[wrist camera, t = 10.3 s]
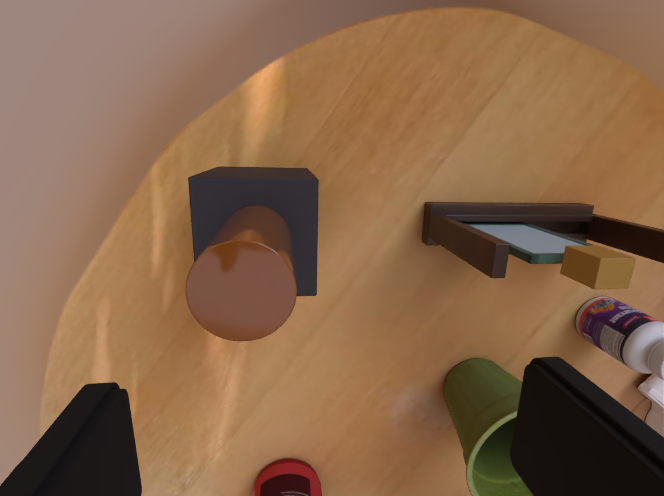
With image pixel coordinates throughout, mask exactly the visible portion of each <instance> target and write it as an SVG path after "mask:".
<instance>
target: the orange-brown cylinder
mask: <svg viewBox="0 0 664 496" xmlns="http://www.w3.org/2000/svg"><path fill="white" fill-rule="evenodd" d="M296 295H297V287H296V276H295V266H294V255H293V245H292V235H291V231H290V228H289V226H288V224H287V222H286V221H285V220H284V218H283V217H282V216H281V215H280V214H278V213H277V212H276V211H274V210H272V209H270V208H267V207H264V206H256V205H255V206H246V207H243V208H240V209H238V210H236V211H235V212H233V213H232V214H231V215H230V216H229V217H228V218H227V219H226V221H225V222H224V223H223V225H222V226H221V227H220V229H219V230H218V231H217V233H216V234H215V235H214V237H213V238H212V239H211V241H210V242H209V243H208V245H207V246H206V247H205V249H204V250H203V251H202V253H201V254H200V256H199V257H198V258H197V260H196V261H195V262H194V264H193V265H192V267H191V269H190V271H189V273H188V277H187V280H186V299H187V303H188V306H189V309H190V311H191V313H192V314H193V316H194V318H195V319H196V320H197V321H198V323H199V324H200V325H201V326H202V327H204V328H205V329H206V330H207V331H209V332H210V333H212V334H214V335H216V336H218V337H221V338H223V339H227V340H232V341H252V340H256V339H260V338H263V337H265V336H267V335H269V334H271V333H273V332H274V331H276V330H277V329H278V328H279V327H281V326H282V325H283V324H284V323H285V322H286V320H287V319H288V317H289V316H290V314H291V312H292V310H293V308H294V305H295V301H296Z"/></svg>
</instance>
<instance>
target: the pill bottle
mask: <svg viewBox="0 0 664 496" xmlns="http://www.w3.org/2000/svg"><path fill="white" fill-rule="evenodd" d="M576 328H577V331H578V333H579V334H580V335H581V336H582V337H584V338H585V339H586V340H588V341H589V342H591V343H592V344H594V345H595V346H597V347H599V348H600V349H602V350H603V351H605V352H606V353H608V354H609V355H611V356H612V357H614V358H615V359H617V360H619V361H620V362H622V363H623V364H625V365H626V366H628V367H629V368H631V369H633V370H635V371H637V372H640V373H653V374H655V375H656V376H657V377H659V378H661V379H663V380H664V323H663V322H661V321H659V320H657V319H655V318H653V317H650V316H648V315H646V314H644V313H642V312H640V311H638V310H636V309H634V308H632V307H629V306H627V305H625V304H623V303H621V302H619V301H617V300H615V299H612V298H609V297H596V298H593V299H591V300H589V301H588V302H586V303H585V304H584V305H583V306H582V307H581V308H580V310H579V312H578V314H577V317H576Z"/></svg>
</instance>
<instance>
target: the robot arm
mask: <svg viewBox="0 0 664 496" xmlns="http://www.w3.org/2000/svg"><path fill="white" fill-rule="evenodd" d="M510 458H511V462H512V465H513V467H514V469H515V471H516V472H517V474H518V475H519V476H520V478H521V479H522V481H523V482H524V483H525V485H526V486H527V488H528V489H529V490H530V492H531V493H532V495H533V496H664V437H663V436H662V435H660V434H659V433H658V432H656V431H655V430H654V429H652V428H651V427H650V426H649V425H647V424H646V423H645V422H643V421H642V420H641V419H640V418H638V417H637V416H636V415H634V414H633V413H632V412H630V411H629V410H628V409H627V408H625V407H624V406H623V405H621V404H620V403H619V402H617V401H616V400H615V399H614V398H612V397H611V396H610V395H608V394H607V393H606V392H604V391H603V390H602V389H601V388H599V387H598V386H597V385H595V384H594V383H593V382H592V381H590V380H589V379H588V378H586V377H585V376H584V375H582V374H581V373H580V372H579V371H577V370H576V369H575V368H573V367H572V366H571V365H569V364H568V363H567V362H566V361H564V360H563V359H561V358H559V357H544V358H534V359H532V361H531V362H530V364H529V365H527V366H526V367H525V370H524V376H523V382H522V387H521V393H520V399H519V405H518V410H517V416H516V422H515V427H514V433H513V439H512V445H511V450H510ZM141 493H142V486H141V479H140V472H139V465H138V458H137V452H136V445H135V438H134V431H133V424H132V418H131V411H130V404H129V397H128V393H127V390H126V389H120V388H119V386H118V384H117V383H115V382H113V383H96V384H87V385H85V386H84V387H82V389H81V390H80V391H79V392H78V393H77V395H76V396H75V397H74V398H73V399H72V401H71V402H70V403H69V404H68V406H67V407H66V408H65V409H64V410H63V412H62V413H61V414H60V415H59V417H58V418H57V419H56V420H55V421H54V423H53V424H52V425H51V426H50V427H49V429H48V430H47V431H46V432H45V434H44V435H43V436H42V437H41V438H40V440H39V441H38V442H37V443H36V445H35V446H34V447H33V448H32V450H31V451H30V452H29V453H28V454H27V456H26V457H25V458H24V459H23V460H22V461H21V462H20V463H19V464H18V465H17V466H16V467H15V469H14V470H13V471H12V472H11V474H10V475H9V476H8V477H7V478H6V480H5V481H4V482H3V483H2V484H1V486H0V496H141Z"/></svg>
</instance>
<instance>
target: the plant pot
mask: <svg viewBox="0 0 664 496" xmlns="http://www.w3.org/2000/svg"><path fill="white" fill-rule="evenodd" d="M521 387H522V382H521V381H519V380H518V379H517V378H515V377H514V376H512V375H511V374H510V373H508V372H507V371H505V370H504V369H503V368H501V367H500V366H498V365H497V364H496V363H494V362H492V361H490V360H485V359H480V358H474V359H469V360H466V361H464V362H462V363H460V364H458V365H457V366H456V367H454V368H453V369H452V370H451V372H450V373H449V374H448V377H447V380H446V382H445V385H444V387H443V393H444V398H445V401H446V403H447V406H448V409H449V412H450V415H451V418H452V420H453V423H454V426H455V429H456V431H457V434H458V437H459V440H460V443H461V446H462V449H463V456H464V460H465V463H466V466H467V467H466V480H467V484H468V488H469V490H470V493H471V494H472V496H533V495H532V493H531V492H530V490H529V489H528V488H527V486H526V485H525V483H524V482H523V481H522V479H521V478H520V476H519V475H518V474H517V472H516V471H515V469H514V467H513V465H512V462H511V458H510V450H511V445H512V439H513V433H514V427H515V422H516V416H517V410H518V405H519V399H520V393H521Z"/></svg>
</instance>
